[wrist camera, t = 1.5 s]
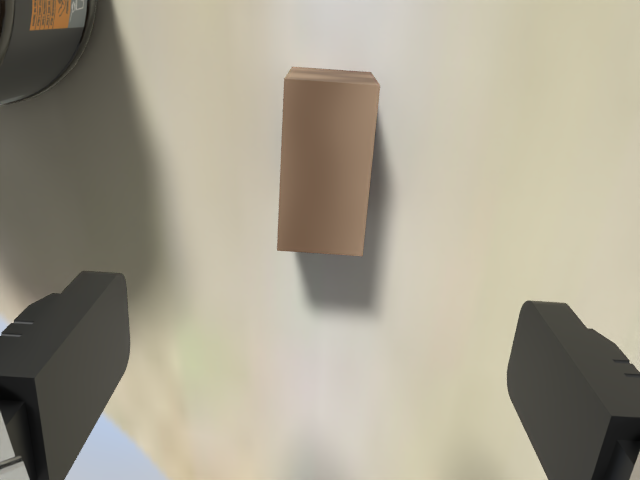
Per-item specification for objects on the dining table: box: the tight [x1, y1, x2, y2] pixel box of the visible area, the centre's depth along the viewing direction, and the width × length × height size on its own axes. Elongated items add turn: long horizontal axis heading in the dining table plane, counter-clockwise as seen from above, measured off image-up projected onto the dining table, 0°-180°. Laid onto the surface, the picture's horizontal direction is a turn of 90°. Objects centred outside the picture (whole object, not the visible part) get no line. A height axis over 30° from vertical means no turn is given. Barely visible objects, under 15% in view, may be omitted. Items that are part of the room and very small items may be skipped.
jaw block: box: [277, 67, 380, 256], centre depth 25 cm, size 4×7×5 cm, turn 176°
